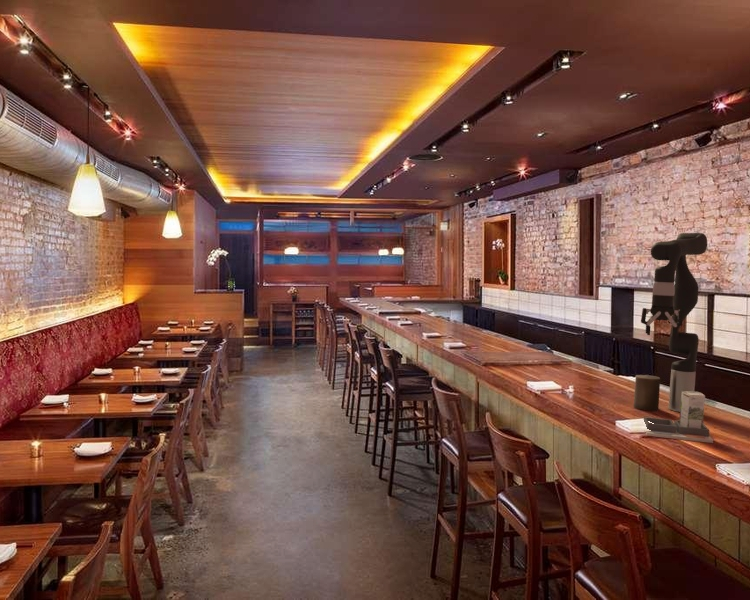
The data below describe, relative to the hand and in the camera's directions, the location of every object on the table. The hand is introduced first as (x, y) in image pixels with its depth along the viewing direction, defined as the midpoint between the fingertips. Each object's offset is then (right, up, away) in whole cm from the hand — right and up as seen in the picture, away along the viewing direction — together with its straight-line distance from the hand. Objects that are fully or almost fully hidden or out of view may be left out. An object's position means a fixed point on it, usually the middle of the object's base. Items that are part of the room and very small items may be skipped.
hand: (660, 335), depth 227 cm
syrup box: (+5, -35, -13) cm, 37 cm away
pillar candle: (+6, -33, +24) cm, 41 cm away
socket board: (0, -35, -12) cm, 37 cm away
